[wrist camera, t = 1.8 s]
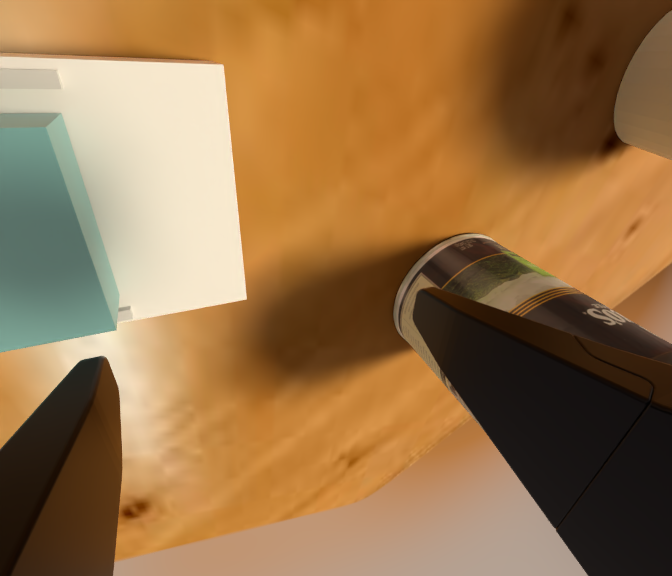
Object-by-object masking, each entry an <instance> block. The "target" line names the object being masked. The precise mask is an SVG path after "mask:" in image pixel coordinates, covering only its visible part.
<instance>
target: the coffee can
mask: <svg viewBox="0 0 672 576" xmlns="http://www.w3.org/2000/svg"><path fill="white" fill-rule="evenodd" d="M427 287H436V288H439V289H442V290H445V291H448V292H451V293H454V294H456V295H459V296H462V297H465V298H468V299H471V300H474V301H477V302H480V303H483V304H486V305H489V306H492V307H495V308H498V309H500V310H503V311H506V312H509V313H512V314H515V315H518V316H521V317H524V318H527V319H530V320H533V321H536V322H539V323H541V324H544V325H547V326H550V327H553V328H556V329H559V330H562V331H565V332H568V333H571V334H572V335H577V336H580V337H583V338H586V339H589V340H591V341H595V342H598V343H601V344H604V345H607V346H610V347H613V348H616V349H619V350H622V351H626V352H629V353H632V354H636V355H639V356H642V357H646V358H649V359H653V360H656V361H659V362H663V363H666V364H670V365H672V344H670V343H669V342H667V341H665V340H663V339H661V338H660V337H658V336H656V335H654V334H653V333H651V332H649V331H648V330H646V329H644V328H643V327H641V326H639V325H637V324H635V323H634V322H632V321H630V320H629V319H627V318H625V317H624V316H622V315H620V314H619V313H617V312H615V311H613V310H611V309H610V308H608V307H606V306H605V305H603V304H601V303H599V302H597V301H596V300H594V299H592V298H591V297H589V296H587V295H586V294H584V293H582V292H580V291H579V290H577V289H575V288H574V287H572V286H570V285H568V284H566V283H565V282H563V281H561V280H560V279H558V278H556V277H554V276H553V275H551V274H549V273H548V272H546V271H544V270H542V269H541V268H539V267H537V266H535V265H534V264H532V263H530V262H529V261H527V260H525V259H523V258H522V257H520V256H518V255H517V254H515V253H513V252H511V251H510V250H508V249H506V248H505V247H503V246H501V245H499V244H498V243H496V242H495V241H494V240H493V239H491V238H490V237H488V236H485V235H482V234H475V233H469V234H462V235H458V236H455V237H452V238H450V239H448V240H445V241H443V242H441V243H440V244H438V245H436V246H435V247H433V248H432V249H431V250H429V251H428V252H427V253H426V254H425V255H423V256H422V257H421V258H420V259H419V260H418V261H417V262H416V264H415V265H414V266H413V267H412V268H411V270H410V271H409V272H408V274H407V275H406V277H405V279H404V280H403V282H402V284H401V286H400V288H399V290H398V293H397V296H396V299H395V304H394V311H393V317H394V322H395V326H396V329H397V331H398V333H399V334H400V335H401V336H402V337H403V338H404V339H405V340H406V341H407V342H408V343H409V344H410V345H411V346H412V347H413V349H414V350H415V351H416V352H417V353H418V354H419V356H420V357H421V358H422V359H423V360H424V361H425V363H426V364H427V365H428V366H429V367H430V368H431V370H432V371H433V372H434V373H435V374H436V375H437V376H438V378H439V379H440V380H441V381H442V382H443V383H444V385H445V386H446V387H447V388H448V389H449V391H450V392H451V393H452V394H453V395H454V396H455V397H456V399H457V400H458V401H459V402H460V403H461V404H462V405H463V407H464V408H465V409H466V410H467V411H468V412H469V414H470V415H471V416H472V417H473V418H474V419H475V421H476V422H477V423H478V424H479V422H478V421H477V420H476V418H475V417H474V415H473V414H472V413H471V411H470V410H469V408H468V407H467V406H466V404H465V403H464V402H463V400H462V399H461V397H460V396H459V395H458V393H457V392H456V390H455V389H454V388H453V386H452V385H451V383H450V382H449V381H448V379H447V378H446V376H445V375H444V373H443V372H442V371H441V369H440V367H439V366H438V364H437V363H436V361H435V359H434V357H433V356H432V354H431V352H430V350H429V349H428V347H427V345H426V343H425V342H424V340H423V338H422V336H421V335H420V333H419V331H418V329H417V328H416V326H415V324H414V322H413V317H412V314H413V309H414V304H415V299H416V294H417V292H418V290H420V289H423V288H427ZM479 425H480V424H479ZM480 426H481V425H480ZM481 428H482V427H481ZM482 429H483V428H482ZM483 430H484V429H483Z"/></svg>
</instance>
